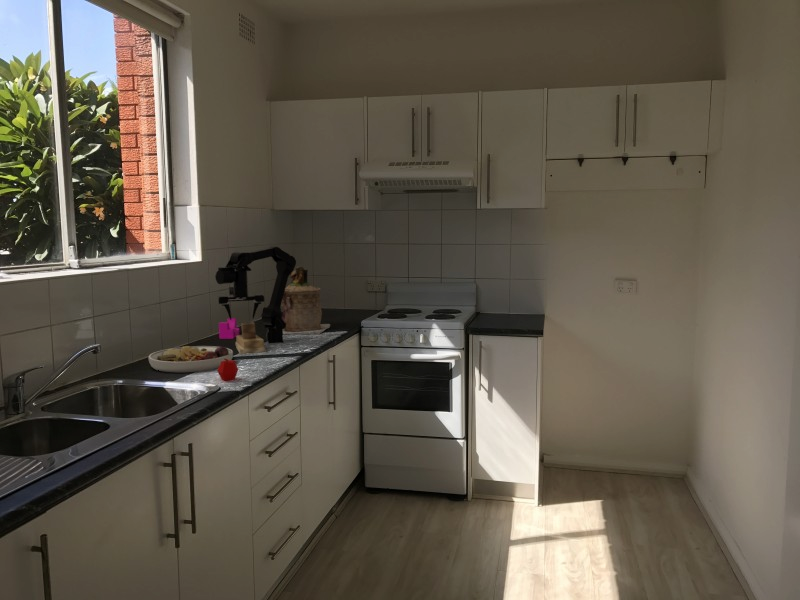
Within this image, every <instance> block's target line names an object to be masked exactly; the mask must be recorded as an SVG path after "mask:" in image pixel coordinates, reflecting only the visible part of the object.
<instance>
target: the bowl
mask: <svg viewBox="0 0 800 600" xmlns="http://www.w3.org/2000/svg"><path fill="white" fill-rule="evenodd" d="M233 356H234V351H233V350H232V349H230V348H228V347H224V346H213V345H196V346H189V345H186V346H184V345H183V346H181V347H180V346H179V347H173V348H166V349H161V350H158V351H155V352H152V353H150V354H149V355H148V362H149V365H150V366H151V368H153V369H154V370H156V371H158V370H159V372H164V373H165V372H166V373H195V372H196V373H197V372H205V371H211V370H215V369H217V370H218V368H219V366H220V363H221V361H226V360H224V358H225V359H228V360H232V359H233ZM232 361H233V360H232Z"/></svg>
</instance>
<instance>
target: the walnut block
mask: <svg viewBox="0 0 800 600" xmlns="http://www.w3.org/2000/svg"><path fill="white" fill-rule="evenodd" d="M240 326H241V335H242V337H243V339H251V338H256V335H257V333H256V324H255V322H254V321H249V322H241V324H240Z"/></svg>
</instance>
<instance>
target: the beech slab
mask: <svg viewBox="0 0 800 600" xmlns="http://www.w3.org/2000/svg"><path fill="white" fill-rule="evenodd" d="M234 345H235V346H236V347H235V348H236V350H237V351H238V353H239V354H240V355H244V354H245V355H246V354H247V353H249V354H260V353H261V354H262V352H263V353H266V347H265V346H264V347H261V348H250V349H244V348H242V347H241V346H240V345H239V344H238V343H236V341H235V344H234Z"/></svg>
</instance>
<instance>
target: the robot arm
mask: <svg viewBox="0 0 800 600" xmlns="http://www.w3.org/2000/svg"><path fill="white" fill-rule="evenodd" d="M267 258H271V259H272V260H273V262H275V263H276V265H275V269H276V272H277V273H276V274H277V275H276V278H275V282H274V285H273V289H272V293H271V297H270V300H269V304H268V305H267V306H266V307H265V306H264V307H263V309H262V312H261V314H260V317H261V321H262V323H263V325H264V328H265V329H267V331H266V342H268V344H280V343H284V334H283V329H285V328H286V323H285V322H284V321H283V319H282V317H283V312H282V308H281V307H282V306H281V303H282V300H283V295H284V291H285V288H286V287H287V283H288V279H289V277H290V274H291V273H292V272H293V271H295V269H296V265H297V260H296V258H295V256H293V255H290V253H288V252H286V251H284V250H282V249H281V248H280V247H278V246H269V247H266V248H265V247H264V248H262V249H257V250H252V251H238V252H237V251H234V252H232V253H231V255H230V257H229V260H228V262H227V263H226V265H225V266H224V267H220V266H219V267H218V268H217V269H218V270H217V271H216V274H215V276H214V277H215V280H216V283H217V284H218V285H226V284H227V285H228V284H232V283H233V286H229V287H228V295H218V296H217V304H219V305H221V306H222V307H223V306H224V308H225V310H226V312H227V315H228V318H230V320H231V318H232V314H231V308H230V303H229V302H246V301H252V309H251V310H252V311H251V312H252V313H251V316H252V317H251V319H255V315H256V312H257V310H258V307H259V305H262V303H263V302H264V303H265V295H263V294H262V293H254V294H253V295H249V290H248V272H251V271H252V268H250V267H249V265H251V264H252V263H253V262H254V261H255V262H256V261H259V260H263V259H267Z"/></svg>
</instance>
